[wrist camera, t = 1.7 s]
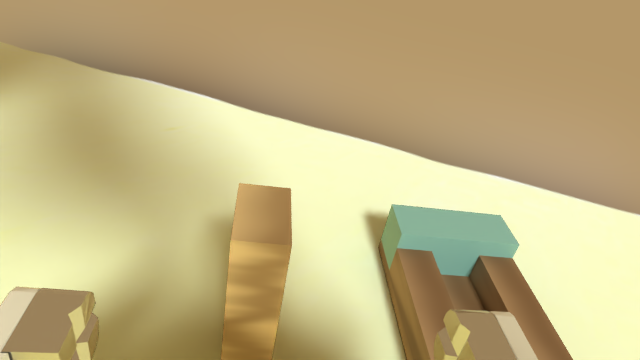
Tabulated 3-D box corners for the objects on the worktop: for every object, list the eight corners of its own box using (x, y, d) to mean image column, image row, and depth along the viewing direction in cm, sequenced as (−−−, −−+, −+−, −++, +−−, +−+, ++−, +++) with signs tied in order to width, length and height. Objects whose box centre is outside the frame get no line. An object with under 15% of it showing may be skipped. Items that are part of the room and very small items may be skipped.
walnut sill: (438, 484, 26) (468, 437, 23) (378, 247, 43) (391, 204, 40) (599, 486, 27) (645, 442, 25) (480, 256, 44) (500, 215, 41)
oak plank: (218, 385, 29) (230, 240, 22) (227, 321, 33) (239, 183, 26) (266, 387, 29) (291, 245, 23) (269, 323, 33) (290, 188, 27)
